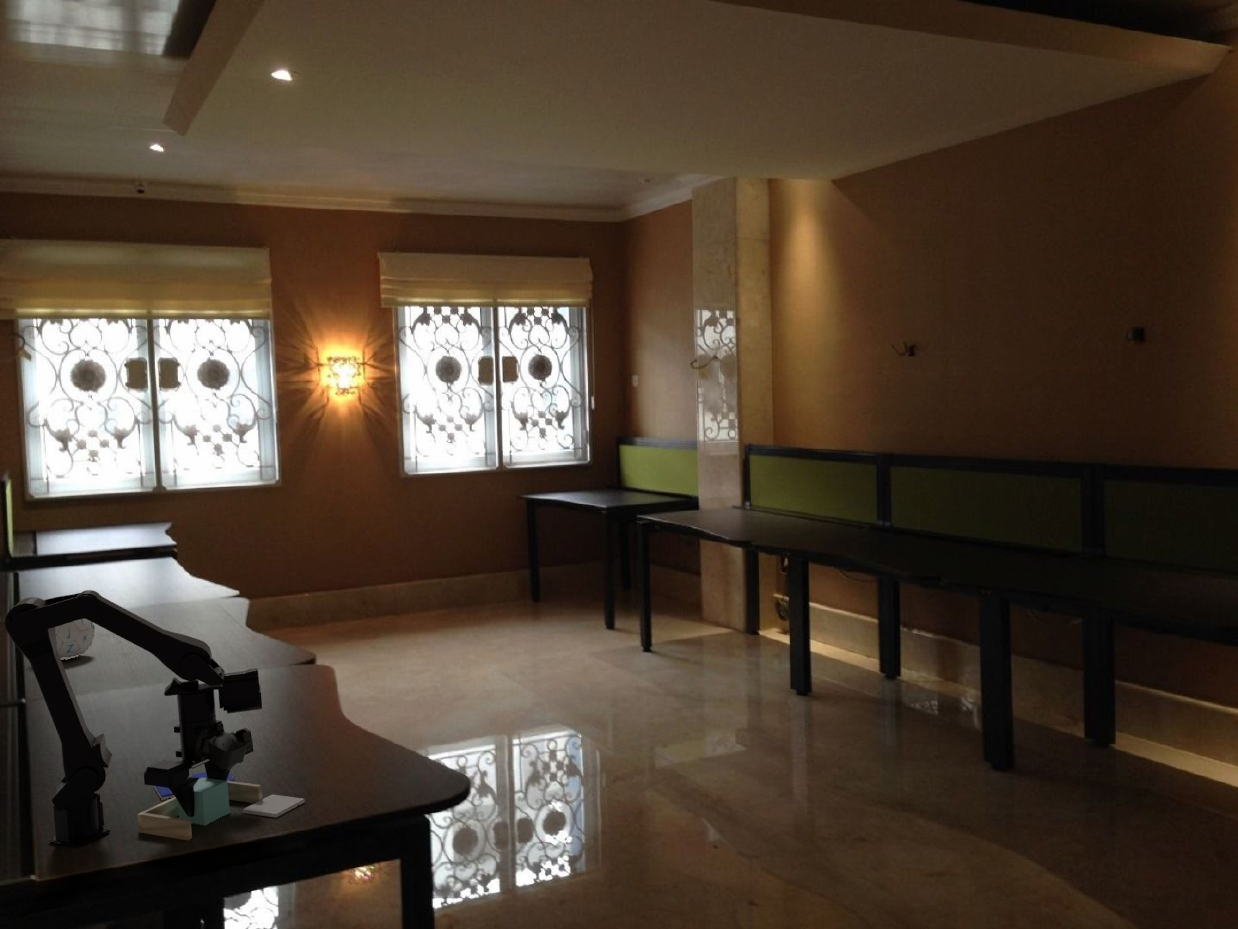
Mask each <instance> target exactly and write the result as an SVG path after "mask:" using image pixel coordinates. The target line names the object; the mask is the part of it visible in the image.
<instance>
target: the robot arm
mask: <svg viewBox="0 0 1238 929" xmlns="http://www.w3.org/2000/svg"><path fill="white" fill-rule="evenodd" d="M80 619H87V620H89V621H91V622H93V624H95V625H97V626H99V627H101V628H102V629H105V630H107V631H108V632H111V633H112V634H114V635H116V636H118V637H120V638H122V639H124V640H125V641H128V642H129V643H131V644H134V645H135V646H137V647H139V648H141V649H143V650H145V651H147V652H149V653H150V654H151V655H153V656H154V657H155V658H156V659H158V661H160V662H161V663H162V664H163V666H165V667H166V668H167V669H169V670H170V671H172V672H173V673H174V674H175V675H176V676H177V677H178V678H180V679H182V680H184V681H181V680H179V679H178V678H177V677H172V680H171V682H170V683H169V684H168V685H166V687H165V689H164V692H163V695H164V697H170V696H176V698H177V700H176V701H177V702H176V703H177V712H178V716H177V717H178V724H176V725H174V726H173V733H175V734H179V740H180V749H176V750H175V757H176V758H181V759H182V760H179V761H175V760H166V759H163V760H161V761H158V762H156V763H154V764H152V765H148V766H147V767H146V768H145V770H144V771H143V780H144V783H143V784H144V785H145V786H153V787H154V786H158V787H165V788H169V789H170V791H171V792H172V793H173V794H174V796H175V797H176V799H177V800H178V802H179V803H180V805H181V807H182V808H183V810H184V811H185V813H186V815H187V816H188V817H193V816H194V809H195V806H194V785H195V784H196V782H197V781H198V779H199V778H196V777H192V775H193V769H195V768H197V767H200V766H202V765H204V768H205V772H206V774H207V778H210V779H217V780H225V781H227V778H228V775H229V773H230V772H231V770H232V769H233V768H234V767H235V765H237V764H241V763H243V762H244V759H245V756H246V755H248V754H250V753H252V752H254V743H253V738H252V732H251V730H250V729H248V728H246V727H243V728H240V729H238V730H237V731H235V732H233V731H231V732H227V731H226V730H225V727H224V723H223V720H220V719H219V720H217V714H216V700H215V699H216V698H215V691H217V690H218V703H219V705H218V706H219V709H223V710H222V711H223V712H225V711H226V714H227V715H230V714H236V713H243V712H244V713H245V712H250V711H259V710H263V704H262V703H263V700H262V698H263V697H262V689H261V684H260V676H259V669H258V668H254V667H253V668H249V669H246V670H242V671H241V670H239V671H234V672H233V671H231V672H226V671H225V669H224V668H223V667H222V666H221V665H220V664H219V663H218V662H217V661H216V660H215V659H214V658H213V656H212V650H211V647H210V646H209V644H208V643H206V642H205V641H204V640H201V639H198V638H197V637H196V638H195V637H192V636H189V635H186V634H184V633H183V634H182V633H178V632H174V631H170V630H167V629H163V628H162V627H160V626H158V625H156V624H154V623H153V622H150V621H149V620H147V619H145V618H143V617H142V616H139V615H137V614H136V613H134V612H132V611H130V610H129V609H126V608H125V607H122V606H121V605H119V604H117V603H115V602H113V601H111V600H109V599H107V598H105V597H103V596H102V595H101V594H100V593H99V592H97V591H95V590H93V589H89V590H88V589H87V590H83V591H82V592H77V593H73V594H66V595H60V596H55V597H52V598H47V599H42V598H39V597H33V596H31V597H26V598H23V599H21V600H20V601H19V602H17V603H16V604H15V605H14V606H13V607H12V608H11V609H10V610H9V611H8V612H7V614H6V616H5V618H4V628H5V630H6V632H7V633H8V636H9V637H10V638H11V640H12V641H13V643H14V645H15V646H16V648H17V649H18V650H19V651H20V652H21V654H23V656H24V657H25V658H26V659H27V660H28V662H29V663H30V666H31V668H32V671H33V674H34V676H35V679H36V681H37V683H38V686H39V689H40V691H41V694H42V697H43V699H44V702H45V705H46V706H47V710H48V712H49V715H50V717H51V720H52V722H53V725H54V727H55V730H56V732H57V735H58V738H59V741H60V743H61V757H62V766H63V771H64V772H63V773H64V776H63V777H62V779H61V780H60V781H59V783H58V785H57V786H56V787H57V788H56V790H55V791H54V794H53V796H52V798H51V802H52V804H53V805H52V808H53V809H52V810H53V820H54V832H55V834H54V836H52V837H50V838H48V841H49V840H50V841H54V842H59V843H61V844H60V845H62V844H65V845H64V846H67V845H70V846H69V847H73V846H78V847H80V846H83V845H85V844H87V843H89V842H91V841H93V840H95V839H97V838H100V837H102V836H104V835H107V834H108V833H110V832H111V828H109V827H104V826H105V817H104V804H103V801H102V800H101V794H100V793H97V792H98V791H99V790H100V789H101V788H102V787H103V786H104V783H105V782H106V780H107V776H108V774H109V770H110V766H111V761H112V758H113V753H112V752H111V751H110V750H109V748H108V745H107V742H106V737H105V736H106V735H105V734H104V733H102V734H100V735H97V736H96V737H95V735H94V734H93V733H92V732H91V731H90V729H89V728H88V726H87V724H86V721H85V719H84V716H83V714H82V711H81V709H80V706H79V703H78V700H77V698H76V696H75V695H76V694H75V693H74V690H73V688H72V685H71V682H70V679H69V677H68V675H67V672H66V670H65V667H64V664H63V661H61V659H60V656H59V653H58V651H57V645H56V632H55V627H57V626H60V625H63V624H67V623H70V622H73V621H76V620H80ZM200 682H201V683H200ZM86 842H87V843H86Z"/></svg>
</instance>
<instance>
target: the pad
mask: <svg viewBox="0 0 1238 929" xmlns="http://www.w3.org/2000/svg"><path fill="white" fill-rule="evenodd" d="M305 802H306V801H305V798H301V797H294V796H293V797H292V796H288V795H287V796H286V795H278V794H270V795H269V796H267V797H264V798H262V800H260V801H258V802H256V803H251V805H249V806H246V807H244V808H243V809H242V812H243V813H244V814H248V815H249V814H250V815H257V816H264V817H269V818H275V819H276V818H278V817H281V816H282V815H283V814H286V813H287V812H290V811H291V810H292V809H294V808H297V807H298V805H299V806H300V805H302V804H304V803H305Z"/></svg>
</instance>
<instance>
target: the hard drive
mask: <svg viewBox="0 0 1238 929" xmlns="http://www.w3.org/2000/svg"><path fill="white" fill-rule="evenodd" d="M192 777H196V778H199V779H200V778H207V774H206V771H203V772H197V773H194V774H193V773H192ZM227 781H234V782H236V780H235V777H234V776H233V775H232V774H231V773H230V772H229V775H228V778H227ZM153 788H154V790H155V792H156V794H157V795H158V797H159V799H160V798H161V799H160V800H161V801H167V800H169V799H168V798H172V797H175V796H174V794H173V793H172V792H171V791H170V789H169V788H165V787H158V786H153ZM166 799H167V800H166Z"/></svg>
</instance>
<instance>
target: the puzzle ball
mask: <svg viewBox="0 0 1238 929" xmlns="http://www.w3.org/2000/svg"><path fill="white" fill-rule="evenodd" d="M95 629H96V627H95V625H94V623H93V622H91V621H89V620H87V619H80V620H76V621H73V622H70V623H67V624H63V625H60V626H57V627H55V632H56V645H57V651H58V653H59V656H60V658H62V657H71V656H76V655H79V654H82V653H83V654H85V653H86V652H87V651H88V650H89V648H90V647H91V646H92V644H93V642H94V638H95V633H96V631H95ZM83 654H82V655H83Z"/></svg>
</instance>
